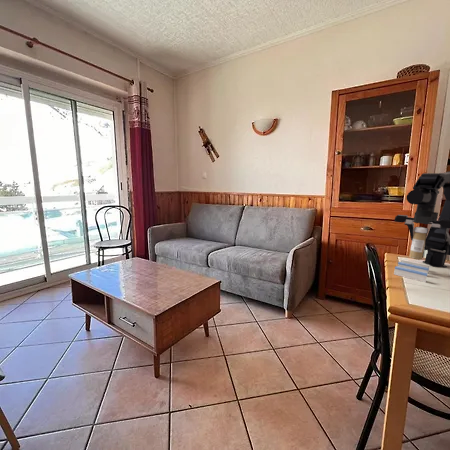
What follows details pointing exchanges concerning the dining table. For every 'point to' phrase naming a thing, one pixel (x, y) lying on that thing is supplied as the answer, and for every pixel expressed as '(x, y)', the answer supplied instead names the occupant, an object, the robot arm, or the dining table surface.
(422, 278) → the rail comb
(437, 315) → the dining table surface
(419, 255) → the sprinkles bottle
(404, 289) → the dining table surface
